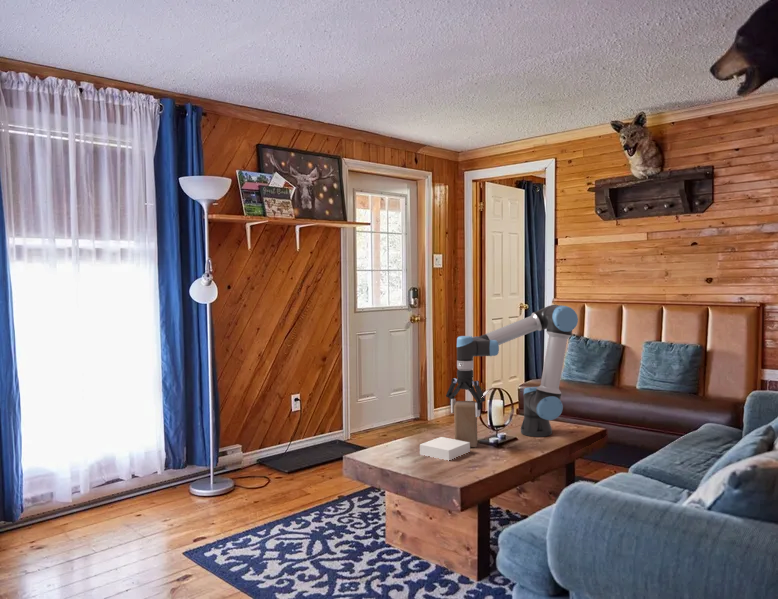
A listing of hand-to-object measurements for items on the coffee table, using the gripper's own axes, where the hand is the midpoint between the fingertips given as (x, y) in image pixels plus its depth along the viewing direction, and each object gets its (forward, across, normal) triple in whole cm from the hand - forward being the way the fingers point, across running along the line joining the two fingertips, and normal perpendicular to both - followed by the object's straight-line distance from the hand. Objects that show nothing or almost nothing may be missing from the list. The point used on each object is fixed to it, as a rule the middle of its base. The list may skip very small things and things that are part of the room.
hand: (465, 414), depth 286 cm
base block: (+15, 0, -16) cm, 22 cm away
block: (+15, 0, 0) cm, 15 cm away
